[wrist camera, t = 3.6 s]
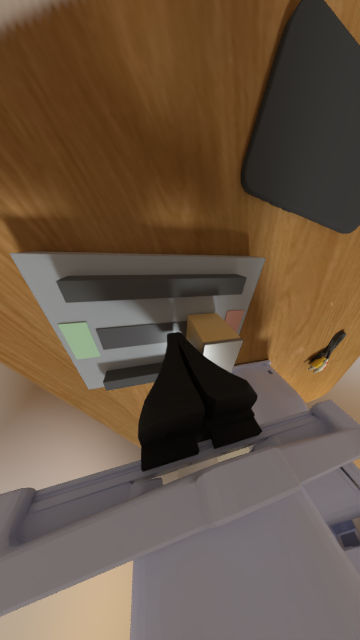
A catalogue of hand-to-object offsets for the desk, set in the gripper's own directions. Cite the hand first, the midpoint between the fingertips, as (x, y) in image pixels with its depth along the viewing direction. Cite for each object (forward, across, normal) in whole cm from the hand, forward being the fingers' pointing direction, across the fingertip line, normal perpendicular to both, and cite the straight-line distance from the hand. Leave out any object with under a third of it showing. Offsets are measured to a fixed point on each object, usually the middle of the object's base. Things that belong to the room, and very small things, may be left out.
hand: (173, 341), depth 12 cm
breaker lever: (+1, -3, 0) cm, 3 cm away
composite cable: (+4, -33, +11) cm, 35 cm away
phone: (+4, -13, -14) cm, 20 cm away
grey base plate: (+3, +1, 0) cm, 3 cm away
